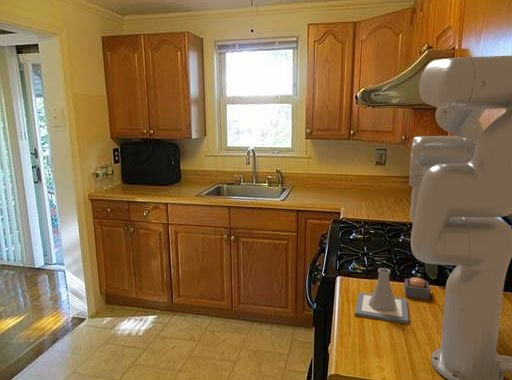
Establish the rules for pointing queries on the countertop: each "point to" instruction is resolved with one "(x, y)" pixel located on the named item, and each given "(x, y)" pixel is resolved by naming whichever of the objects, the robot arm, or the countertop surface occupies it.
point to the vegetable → (431, 270)
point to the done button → (417, 282)
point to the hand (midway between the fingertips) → (419, 239)
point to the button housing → (417, 290)
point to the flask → (383, 292)
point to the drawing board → (391, 315)
